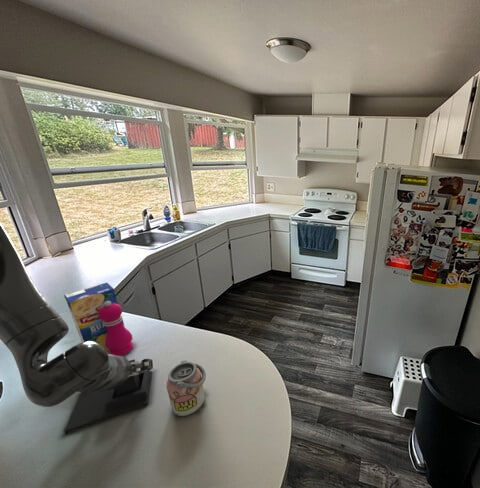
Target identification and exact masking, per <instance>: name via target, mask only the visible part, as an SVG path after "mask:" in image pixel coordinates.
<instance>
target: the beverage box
mask: <svg viewBox="0 0 480 488" xmlns="http://www.w3.org/2000/svg"><path fill="white" fill-rule="evenodd" d="M63 297H64V299H65V302H66V304H67V306H68V309H69V312H70V314H71V317H72V320H73V322H74V325H75V328H76V330H77V333H78V336H79V338H80V341H81V343H82V342H86V341H94V342H97V343H99V344H100V345H102V346H103V347H104V348H105V350H106V351H107V352H110V349H108V348H107V347H106V345H105V339H106V336H107V327H106V326H104V324H103V320H101V319H100V318H99V316H98V312H99V310H100V309H101V308H102V307H103V306H105V305H104V303H105V302H106V301H110V302H111V304H118V305H119V302H118V299H117V296H116V292H115V289H114V287H112V285H111V284H109V282H104V283H101V284H97V285H94V286H91V287H87V288H84V289H80V290H76V291H74V292H71V293H70V292H69V293H67V294H64V295H63ZM122 324H123V326H124V327H125V328H126V326H125V323H124V318H123V319H122Z"/></svg>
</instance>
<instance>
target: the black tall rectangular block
mask: <svg viewBox="0 0 480 488" xmlns="http://www.w3.org/2000/svg"><path fill="white" fill-rule="evenodd" d="M128 361H129V362H136V359H130V360H128ZM131 374H132V373H131ZM140 386H141V380H140V377H139V374H138V375H135V376H131V377H128V378H127V380H126V381H125V382H124V383H123V384H122V385H120V386H119V387H117V388H115V389H116V392H117V395H118V397H120V396H123V395H126V394H129V393H132V392H135V391H138V390H140Z"/></svg>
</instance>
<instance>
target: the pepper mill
mask: <svg viewBox="0 0 480 488" xmlns="http://www.w3.org/2000/svg"><path fill="white" fill-rule="evenodd" d="M104 305H105V306H103V307H102V308H101V309H100V310H99V312H98V316H99V318H100V319H101V320H103V324H104V326H106V327H107V336H106V339H105V345H106V347H107V348H108V349H110V350H109V354H111V355H117V356H121V357H124V356H126V355H127V354H129V353H130V352H131V351H132V350H133V349H134V344H133V341H132V340H133V335H132V333H131V331H130V330H129V329H127V328H126V326H125V325H124V326H125V327H124V326H123V324H122V319H123V320H124V318H123V315H122V314H123V308H122V306H121V305H120V304H119V303H118V304H111V302H110V301H106V302H105V303H104Z"/></svg>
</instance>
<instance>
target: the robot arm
mask: <svg viewBox="0 0 480 488" xmlns="http://www.w3.org/2000/svg"><path fill="white" fill-rule="evenodd" d="M69 331H70V328H69V325H68V324H67V322H65V320H64V319H63V318H62V316H60V315H59V313H58V312H57V311H56V309H54V307H53V306H52V305H51V304H50V303H49V302H48V300H47V299H46V298H45V297H44V295H43V294H42V293H41V291H40V290H39V288H38V287H37V285H36V284H35V283H34V281H33V279H32V277H31V276H30V274H29V272H28V270H27V268H26V266H25V264H24V263H23V260H22V258H21V256H20V254H19V252H18V251H17V249H16V247H15V246H14V244H13V241H12V240H11V238H10V236H9V235H8V233H7V231H6V230H5V228H4V227H3V225H2V223H1V222H0V341H1V342H2V343H3V345H5V346H6V347H7V349H8V350H9V352H10V353H11V355H12V356H13V359H14V361H15V364H16V367H17V369H18V372H19V375H20V379H21V384H22V387H23V388H22V389H23V391H24V393H25V395H26V397H27V399H28V400H29V401H30V402H31V403H32V404H34V405H36V406H38V407H43V408H52V407H55V406H58V405H60V404H62V403H63V402H65V401H66V400H68V399H69V398H70V397H72V396H73V395H75V394H76V393H81V392H89V391H90V392H99V391H107V390H112V389H115V388H117V387H119V386H120V385H122V384H123V383H124V382H125V381H126V380H127V378H128V377H131V376H135V375H138V374H139V373H140V372H146V370H150V371H152V370H153V369H154V364H153V363H154V362H153V359H151V358H143V359H142V360H141V361H140V362H139V361H138V360H137V361H136V360H135V362H129V361H130V360H129V359H127V358H126V357H124V356H117V355H111V354H110V353H108V351H106V350H105V348H104V347H103V346H102V345H100V344H99V343H97V342H94V341H86V342H82V341H81V342H79V343H76V344H74V345H72V346H71V347H69V348H68V349H67V350H64V351H63V352H61V353H60V354H59V355H57V356H55V357H54V358H52V359H51V360H49V361H48V357H49V356H48V355H49V352H50V351H51V349H52V348H53V347H54V346H56V345H57V344H58V343H59V342H60V341H61V340H63V339H64V338H65V337H66V336H67V335H68V333H69ZM131 373H132V374H131Z"/></svg>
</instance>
